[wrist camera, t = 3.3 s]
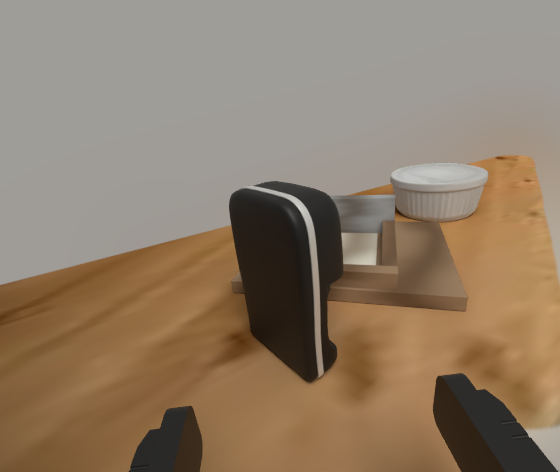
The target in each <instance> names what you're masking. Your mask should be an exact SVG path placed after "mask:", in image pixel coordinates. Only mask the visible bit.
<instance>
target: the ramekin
mask: <svg viewBox="0 0 560 472" xmlns="http://www.w3.org/2000/svg"><path fill="white" fill-rule="evenodd" d="M390 180H391V183H392V185H393V191H394V195H395V204H396V207H397V209H398V211H399V212H400V213H401V214H403V215H404V216H406V217H409V218H412V219H416V220H421V221H429V222H448V221H455V220H460V219H463V218H466V217H468V216H469V215H471V214H472V213H473V212H474V211H475V210H476V208H477V205H478V202H479V199H480V196H481V193H482V190H483V187H484V184H485V183H486V182H487V180H488V172H487V171H486V170H485V169H483V168H480V167H476V166H471V165H464V164H455V163H433V164H421V165H413V166H408V167H404V168H400V169H398V170H396V171H394V172H393V173H392V174H391V178H390Z"/></svg>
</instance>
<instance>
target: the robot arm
mask: <svg viewBox="0 0 560 472" xmlns="http://www.w3.org/2000/svg"><path fill="white" fill-rule="evenodd" d="M433 414H434V418H435V422H436V424H437V427H438V429H439V431H440V433H441V435H442V437H443V438H444V440H445V442H446V444H447V446H448V448H449V450H450V451H451V453H452V455H453V457H454V459H455V461H456V462H457V464H458V466H459V468H460V470H461V472H558V471H557V470H556V468H555V467H554V466H553V465H552V464H551V462H550V461H549V460H548V459H547V457H546V456H545V455H544V453H543V452H542V451H541V450H540V449H539V447H538V446H537V445H536V443H535V442H534V441H533V440H532V438H529V436H528V433H527V432H526V431H525V430H524V428H523V427H522V426H521V425H520V423H517V421H516V418H515V417H514V416H513V415H512V413H511V412H510V411H509V410H508V408H507V407H506V406H505V405H504V403H503V402H501V401H500V400H499V399H497V398H496V397H495V396H493V395H492V394H491V393H489V392H488V391H487V390H485V389H483V390H476V388H475V387H474V386H473V384H472V383H471V382H470V380H469V379H468V378H467V377H466V376H465V375H464V374H462V373H459V374H451V375H443V376H438V377H437V379H436V387H435V395H434V404H433ZM201 460H202V437H201V433H200V430H199V427H198V423H197V420H196V417H195V413H194V410H193V408H192V406H186V407H178V408H170V409H167V410H166V412H165V414H164V417H163V421H162V424H161V427H160V429H154V430H150V431H149V432H148V433H147V435H146V436H145V437H144V439H143V440H142V442H141V443H140V444H139V446H138V447H137V450H136V453H135V455H134V458H133V461H132V464H131V469H130V471H129V472H200V466H201Z"/></svg>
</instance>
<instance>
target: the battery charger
mask: <svg viewBox="0 0 560 472" xmlns="http://www.w3.org/2000/svg"><path fill="white" fill-rule="evenodd" d="M229 211H230V219H231V225H232V231H233V237H234V243H235V249H236V254H237V260H238V265H239V270H240V275H241V279H242V284H243V289H244V294H245V299H246V304H247V310H248V316H249V322H250V328H251V332H252V334H253V335H255V336H256V337H257V338H258V339H259V340H260V341H261V342H262V343H264V344H265V345H266V346H267V347H268V348H269V349H270V350H272V351H273V352H274V353H275V354H276V355H277V356H278V357H280V358H281V359H282V360H283V361H284V362H286V363H287V364H288V365H289V366H290V367H292V368H293V369H294V370H295V371H296V372H298V373H299V374H300V375H301V376H302V377H304V378H305V379H306V380H308V381H312V380H314V379H316V378H319V377H321V376H322V375H323V374H324V372H325V371H326V370H327V369H328V368H330V367H331V365H332V364H333V363H334V362H335V360H336V357H337V348H336V346H335V344H334V343H333V342H331V341H330V340H329V337H328V328H327V298H328V295H329V292H330V284H332V283H334V282H336V281H337V280H338V279H340V278H341V277H342V275H343V248H342V234H341V223H340V217H339V212H338V209H337V206H336V204H335V203H334V201H333V200H332V198H331V197H330V196H329V195H327V194H326V193H324V192H322V191H319V190H316V189H313V188H309V187H305V186H301V185H296V184H291V183H284V182H278V181H272V182H265V183H261V184H258V185H254V186H246V187H242V188H240V189H239V190H238V191H236V192H234V193H233V194H232V195H231V198H230V203H229Z"/></svg>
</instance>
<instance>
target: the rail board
mask: <svg viewBox="0 0 560 472" xmlns="http://www.w3.org/2000/svg"><path fill="white" fill-rule="evenodd" d="M330 197H331V198H332V200H333V201H334V203H335V204H336V206H337V209H338V212H339V217H340V223H341V234H342V248H343V275H342V277H341V278H340V279H338V280H337V281H336V282H334V283H332V284H330V292H329V295H328V298H327V300H333V301H345V302H357V303H370V304H382V305H394V306H407V307H419V308H431V309H444V310H456V311H466V306H467V299H468V297H467V295H466V292H465V289H464V287H463V284H462V282H461V279H460V277H459V274H458V271H457V269H456V266H455V264H454V261H453V259H452V256H451V253H450V251H449V248H448V246H447V243H446V241H445V238H444V235H443V233H442V230H441V228H440V225H439V223H438V222H395V195H352V196H330ZM231 283H232V288H233V292H234V293H244V289H243V284H242V279H241V275H240V271H239V272H238V273H237V275H236V276H235V277H234V278H233V280H232V281H231Z"/></svg>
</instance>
